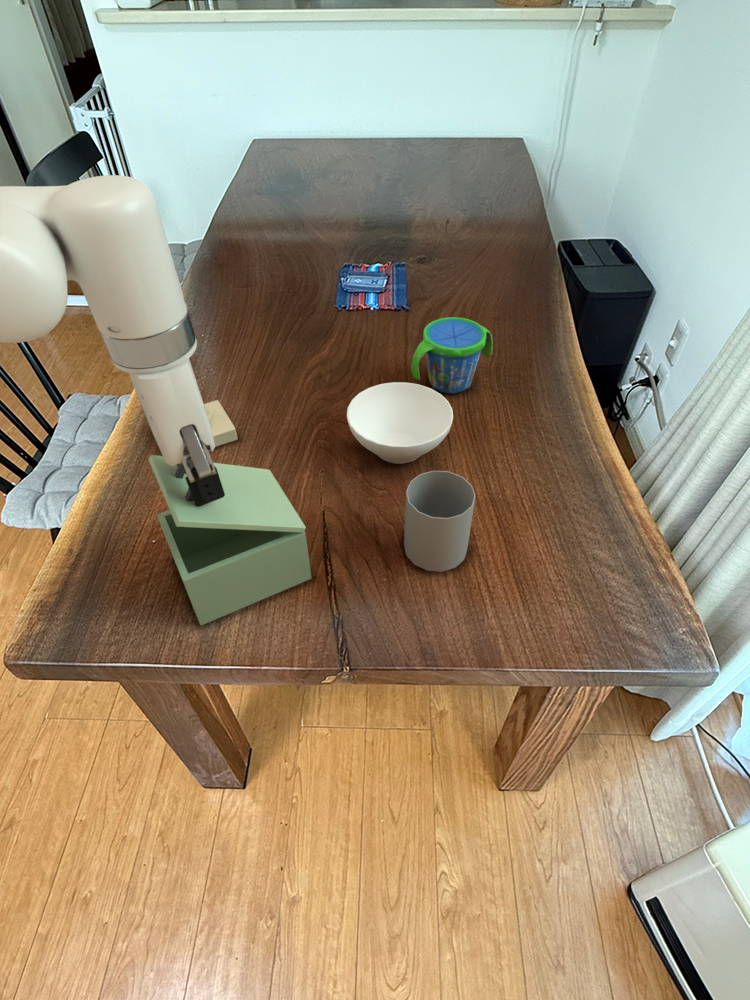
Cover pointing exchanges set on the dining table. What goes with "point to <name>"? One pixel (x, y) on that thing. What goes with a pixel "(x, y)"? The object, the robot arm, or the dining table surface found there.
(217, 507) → the lid
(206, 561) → the green hinged box
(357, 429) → the bowl
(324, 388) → the dining table surface
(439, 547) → the cup
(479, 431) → the dining table surface
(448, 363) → the snack cup
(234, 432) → the panel
